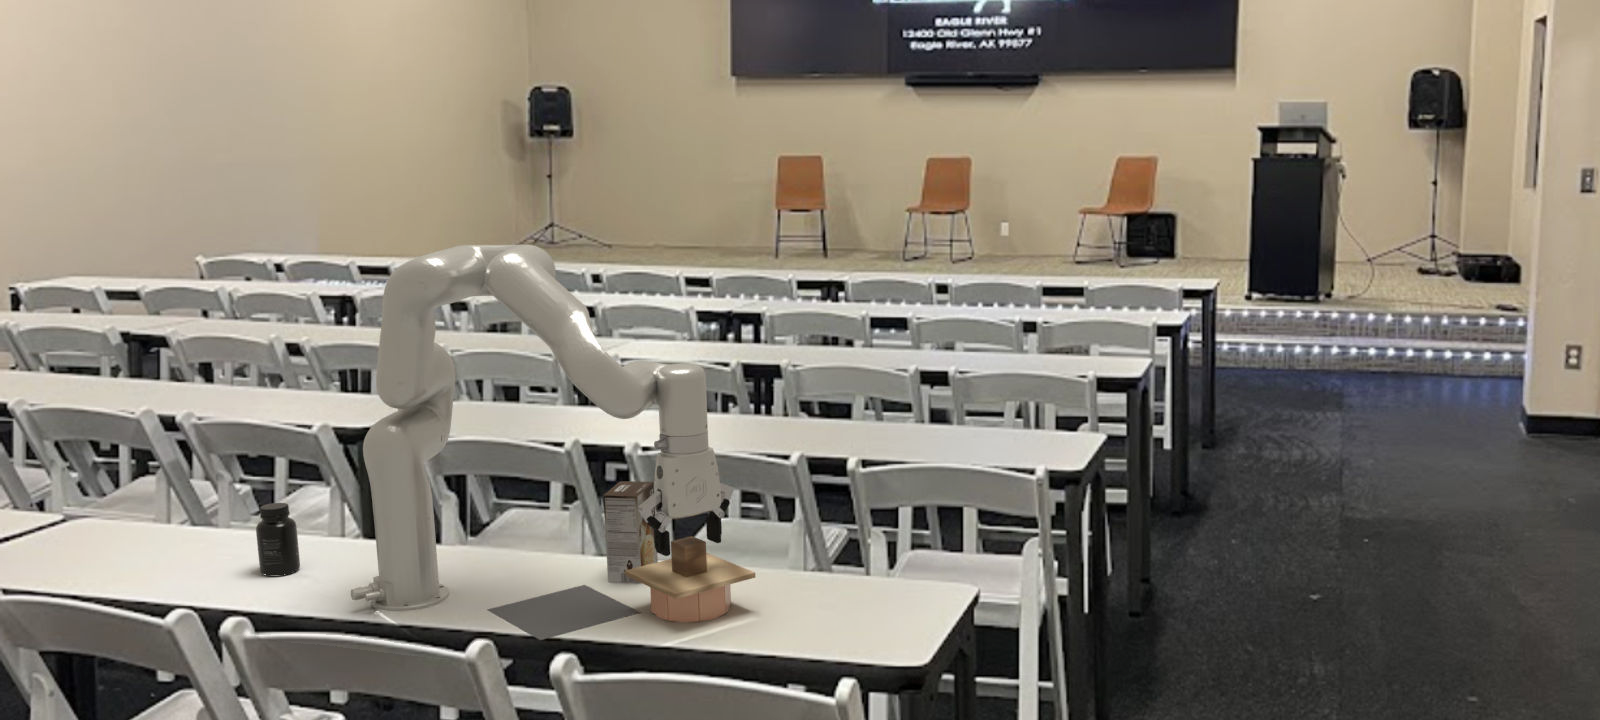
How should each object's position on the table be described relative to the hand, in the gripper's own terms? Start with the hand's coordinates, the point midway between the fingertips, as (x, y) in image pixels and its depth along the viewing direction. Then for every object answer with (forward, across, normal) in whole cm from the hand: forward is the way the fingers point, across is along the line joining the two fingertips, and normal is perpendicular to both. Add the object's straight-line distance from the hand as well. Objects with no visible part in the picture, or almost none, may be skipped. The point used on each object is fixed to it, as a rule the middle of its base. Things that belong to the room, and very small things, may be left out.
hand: (688, 547), depth 243 cm
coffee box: (+11, +2, +21) cm, 24 cm away
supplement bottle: (+11, -43, +67) cm, 80 cm away
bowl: (+11, 0, 0) cm, 11 cm away
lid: (+5, 0, 0) cm, 5 cm away
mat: (+11, -16, +13) cm, 23 cm away
